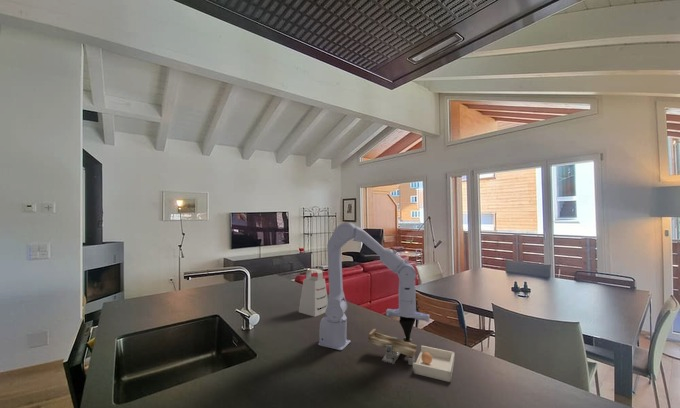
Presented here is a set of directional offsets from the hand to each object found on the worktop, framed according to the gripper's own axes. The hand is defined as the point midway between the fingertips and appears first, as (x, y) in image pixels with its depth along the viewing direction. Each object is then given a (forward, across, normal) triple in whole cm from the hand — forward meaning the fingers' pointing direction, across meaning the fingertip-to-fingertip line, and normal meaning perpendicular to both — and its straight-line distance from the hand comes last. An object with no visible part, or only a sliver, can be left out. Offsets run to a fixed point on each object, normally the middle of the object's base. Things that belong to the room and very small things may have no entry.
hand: (407, 339), depth 99 cm
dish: (+4, -10, +6) cm, 12 cm away
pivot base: (+4, +1, +6) cm, 7 cm away
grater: (+4, +50, -21) cm, 55 cm away
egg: (+2, -7, +6) cm, 10 cm away
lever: (+1, +4, +3) cm, 5 cm away
